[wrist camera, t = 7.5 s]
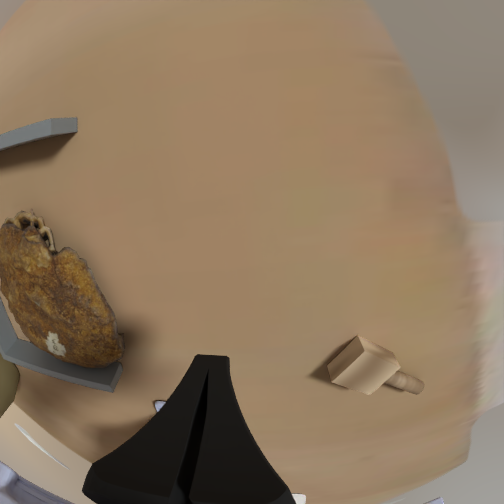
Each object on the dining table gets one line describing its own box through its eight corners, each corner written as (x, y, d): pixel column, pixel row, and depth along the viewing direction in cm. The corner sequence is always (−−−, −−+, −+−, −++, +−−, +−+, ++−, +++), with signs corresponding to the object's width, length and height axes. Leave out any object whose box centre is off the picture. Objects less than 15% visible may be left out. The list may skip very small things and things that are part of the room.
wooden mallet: (428, 370, 24) (435, 382, 22) (402, 393, 26) (408, 406, 24) (357, 335, 22) (364, 351, 20) (326, 365, 23) (331, 382, 21)
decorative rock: (-6, 234, 19) (72, 353, 25) (-33, 254, 15) (56, 380, 21) (56, 180, 16) (150, 339, 23) (19, 197, 13) (135, 375, 19)
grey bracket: (123, 369, 24) (113, 392, 21) (16, 343, 23) (3, 359, 21) (77, 117, 15) (51, 118, 12) (-35, 153, 14) (-56, 159, 12)
